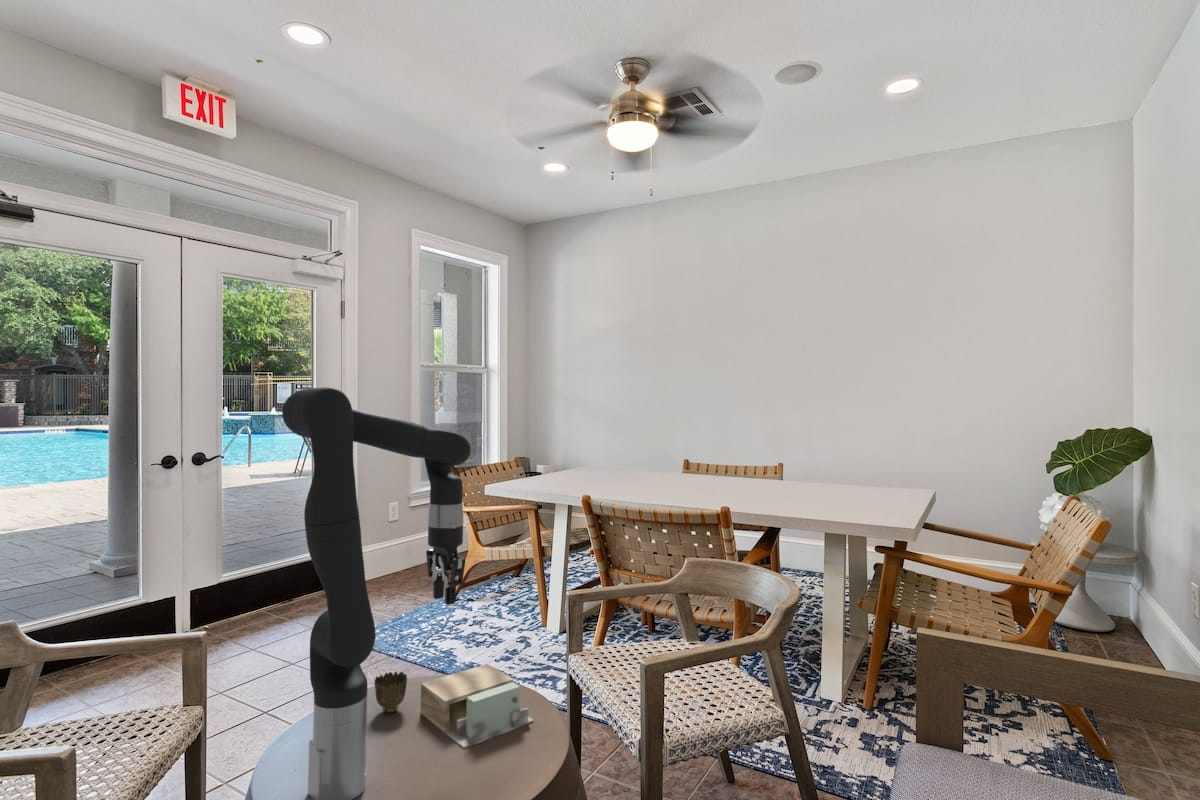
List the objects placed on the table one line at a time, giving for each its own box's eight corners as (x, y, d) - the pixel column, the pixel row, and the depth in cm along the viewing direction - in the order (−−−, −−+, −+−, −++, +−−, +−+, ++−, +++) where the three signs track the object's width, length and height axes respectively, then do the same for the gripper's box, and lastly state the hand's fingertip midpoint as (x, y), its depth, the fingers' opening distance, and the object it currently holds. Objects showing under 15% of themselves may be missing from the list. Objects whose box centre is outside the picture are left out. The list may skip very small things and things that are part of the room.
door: (475, 741, 132) (475, 703, 133) (466, 734, 135) (466, 697, 136) (521, 723, 140) (522, 687, 140) (512, 717, 143) (512, 682, 143)
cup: (372, 707, 148) (373, 673, 148) (404, 702, 151) (405, 669, 151) (375, 721, 141) (376, 686, 141) (408, 715, 144) (409, 680, 144)
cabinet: (463, 748, 130) (464, 715, 130) (420, 713, 145) (421, 683, 145) (533, 721, 142) (534, 690, 142) (486, 691, 157) (487, 663, 157)
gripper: (415, 521, 140) (413, 596, 139) (445, 530, 129) (444, 612, 128) (445, 517, 145) (444, 591, 144) (477, 526, 134) (475, 605, 133)
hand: (444, 600), depth 136 cm, fingers open, 5 cm apart
